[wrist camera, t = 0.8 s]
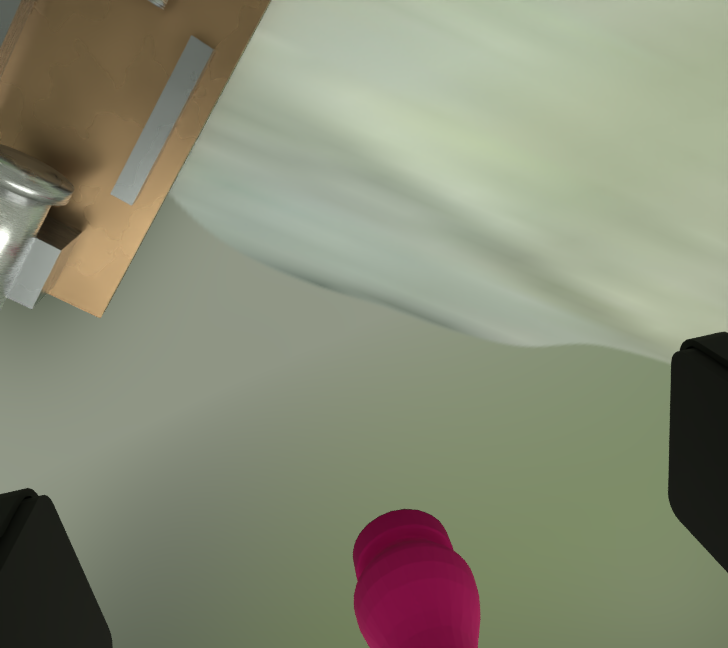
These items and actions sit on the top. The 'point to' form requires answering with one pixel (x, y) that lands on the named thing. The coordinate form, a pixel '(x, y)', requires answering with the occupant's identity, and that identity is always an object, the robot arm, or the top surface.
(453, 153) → the top surface
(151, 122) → the shaft bench
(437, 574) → the pepper mill
